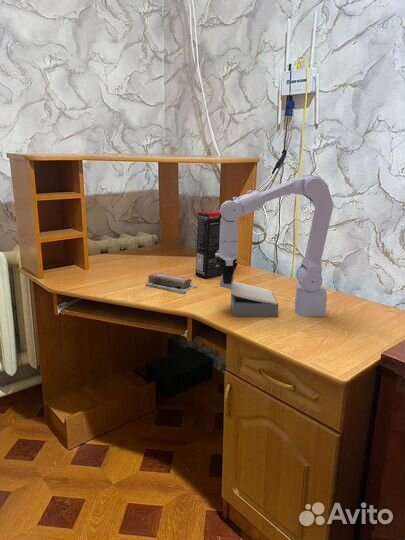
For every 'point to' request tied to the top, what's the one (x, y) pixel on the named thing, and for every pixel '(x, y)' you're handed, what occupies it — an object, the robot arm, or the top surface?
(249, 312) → the gray open box
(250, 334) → the top surface
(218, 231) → the graphics card box
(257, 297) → the white slab
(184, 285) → the packaged product
